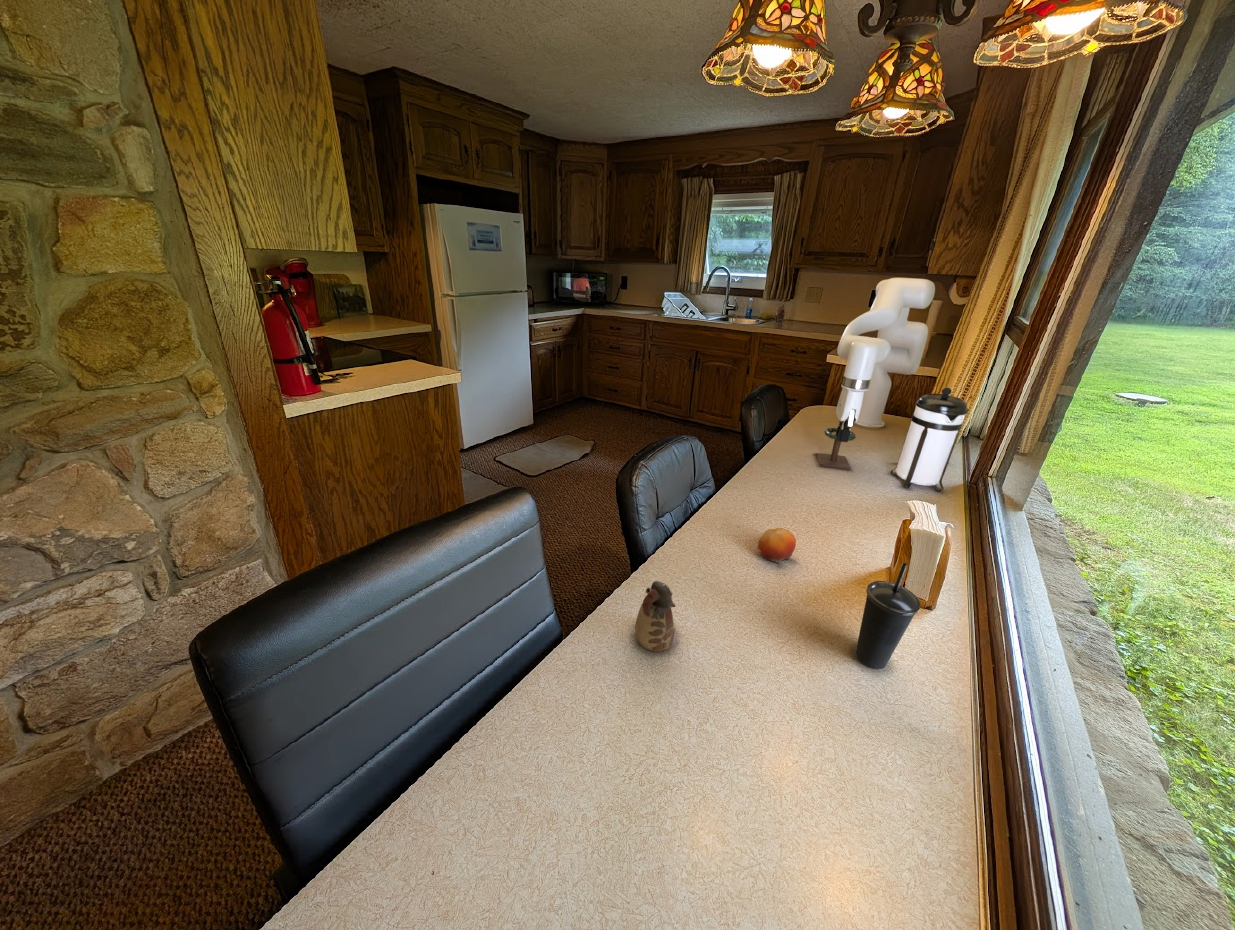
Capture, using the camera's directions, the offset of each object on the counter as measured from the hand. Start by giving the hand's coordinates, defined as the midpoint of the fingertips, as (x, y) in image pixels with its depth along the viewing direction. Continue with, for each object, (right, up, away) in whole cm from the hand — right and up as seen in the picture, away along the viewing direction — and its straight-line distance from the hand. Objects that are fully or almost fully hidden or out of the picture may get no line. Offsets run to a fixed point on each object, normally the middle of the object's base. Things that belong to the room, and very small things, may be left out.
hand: (841, 439), depth 146 cm
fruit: (-35, -29, -40) cm, 61 cm away
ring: (+1, +2, +3) cm, 4 cm away
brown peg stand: (+1, -7, +8) cm, 11 cm away
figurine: (-65, -39, -63) cm, 99 cm away
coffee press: (+21, -13, -3) cm, 25 cm away
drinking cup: (-27, -42, -66) cm, 83 cm away
